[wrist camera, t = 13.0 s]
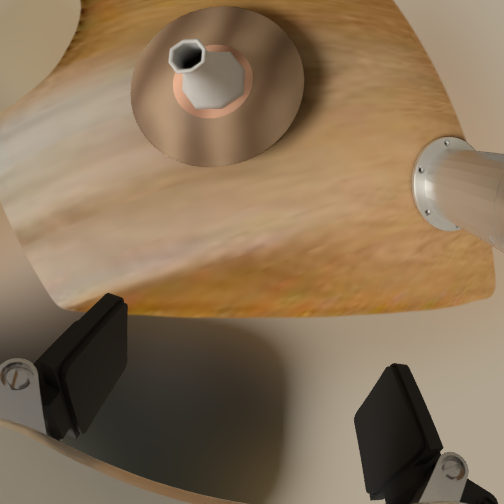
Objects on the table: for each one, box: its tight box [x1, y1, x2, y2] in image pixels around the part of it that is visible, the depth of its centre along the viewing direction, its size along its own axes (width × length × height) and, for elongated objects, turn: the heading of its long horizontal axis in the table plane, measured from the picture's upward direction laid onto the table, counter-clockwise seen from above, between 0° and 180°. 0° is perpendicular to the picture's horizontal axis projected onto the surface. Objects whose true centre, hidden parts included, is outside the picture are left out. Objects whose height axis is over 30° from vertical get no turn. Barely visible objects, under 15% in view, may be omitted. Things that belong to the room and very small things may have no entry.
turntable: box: [131, 6, 304, 167], centre depth 29 cm, size 20×20×2 cm
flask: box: [169, 38, 245, 109], centre depth 24 cm, size 7×7×10 cm
